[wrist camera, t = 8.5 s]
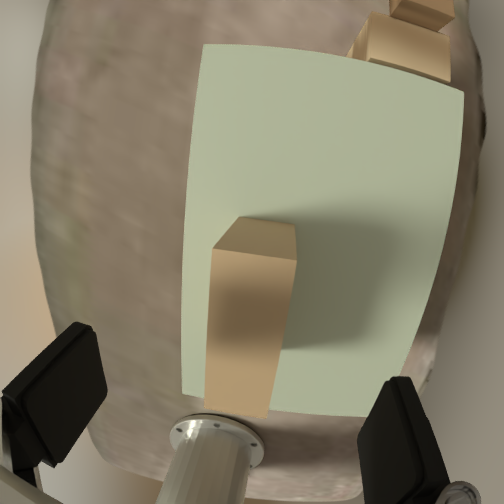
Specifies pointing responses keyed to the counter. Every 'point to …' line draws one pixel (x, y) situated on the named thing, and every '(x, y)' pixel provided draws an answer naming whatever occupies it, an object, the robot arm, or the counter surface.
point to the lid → (310, 227)
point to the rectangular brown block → (423, 12)
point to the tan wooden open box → (403, 47)
